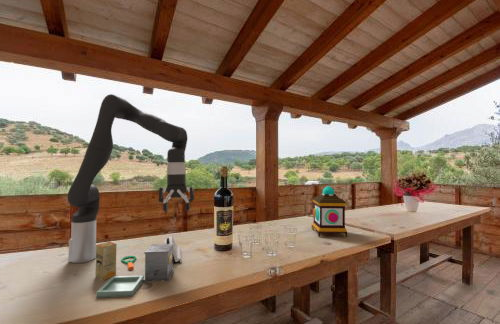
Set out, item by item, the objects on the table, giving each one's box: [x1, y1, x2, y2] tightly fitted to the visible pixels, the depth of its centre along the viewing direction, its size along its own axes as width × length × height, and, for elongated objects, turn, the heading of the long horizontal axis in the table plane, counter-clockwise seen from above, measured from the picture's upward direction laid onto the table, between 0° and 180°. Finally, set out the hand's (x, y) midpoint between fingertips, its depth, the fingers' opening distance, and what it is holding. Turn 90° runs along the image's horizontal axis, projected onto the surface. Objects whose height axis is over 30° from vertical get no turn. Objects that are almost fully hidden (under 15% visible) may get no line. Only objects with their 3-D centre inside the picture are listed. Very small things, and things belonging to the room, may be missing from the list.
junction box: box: [142, 243, 175, 283], centre depth 93 cm, size 9×10×11 cm
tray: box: [95, 274, 145, 299], centre depth 83 cm, size 11×11×2 cm
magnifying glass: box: [120, 255, 137, 271], centre depth 104 cm, size 15×6×2 cm, turn 31°
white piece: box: [163, 235, 183, 265], centre depth 112 cm, size 17×5×10 cm, turn 18°
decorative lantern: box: [311, 185, 348, 238], centre depth 154 cm, size 20×20×30 cm
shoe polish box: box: [94, 241, 117, 281], centre depth 92 cm, size 5×5×12 cm
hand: (176, 211), depth 102 cm, fingers open, 8 cm apart
